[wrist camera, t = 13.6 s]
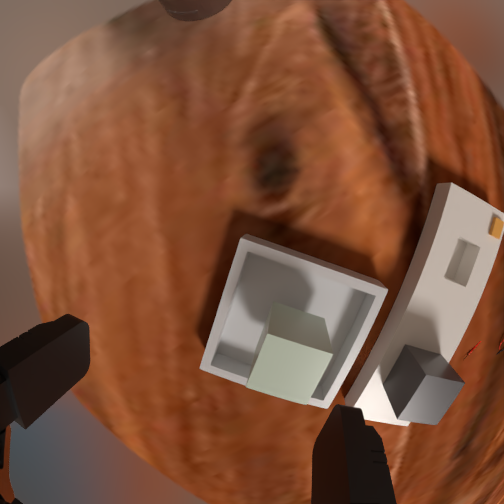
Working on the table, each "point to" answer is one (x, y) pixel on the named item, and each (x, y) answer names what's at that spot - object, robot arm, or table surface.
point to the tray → (296, 296)
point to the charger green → (290, 354)
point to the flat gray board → (433, 292)
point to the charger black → (421, 386)
